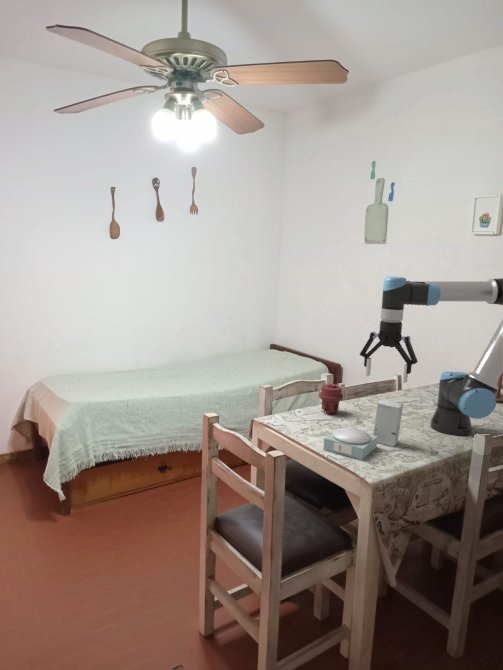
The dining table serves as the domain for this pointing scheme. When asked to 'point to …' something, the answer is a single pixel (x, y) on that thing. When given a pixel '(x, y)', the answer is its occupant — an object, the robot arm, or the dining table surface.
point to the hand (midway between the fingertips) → (386, 379)
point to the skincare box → (387, 422)
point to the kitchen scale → (350, 442)
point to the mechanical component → (330, 398)
